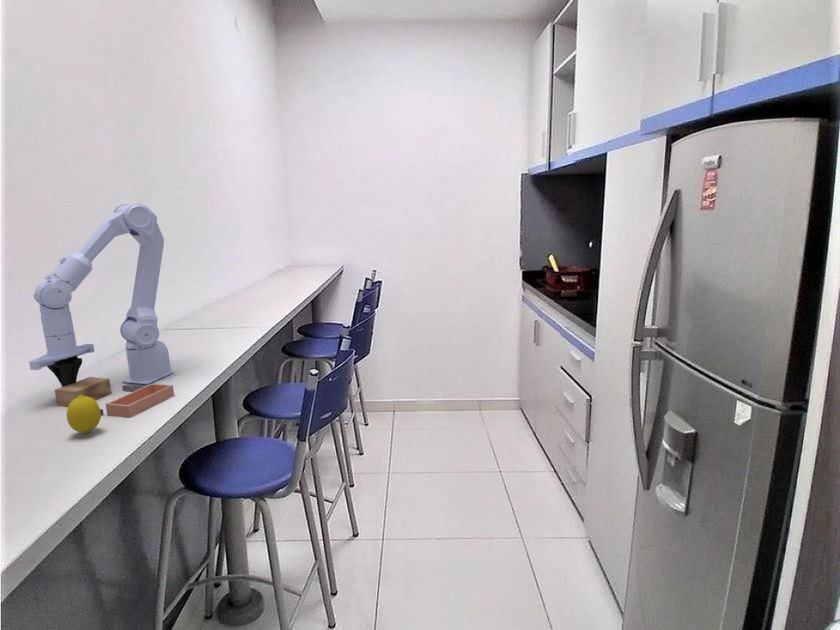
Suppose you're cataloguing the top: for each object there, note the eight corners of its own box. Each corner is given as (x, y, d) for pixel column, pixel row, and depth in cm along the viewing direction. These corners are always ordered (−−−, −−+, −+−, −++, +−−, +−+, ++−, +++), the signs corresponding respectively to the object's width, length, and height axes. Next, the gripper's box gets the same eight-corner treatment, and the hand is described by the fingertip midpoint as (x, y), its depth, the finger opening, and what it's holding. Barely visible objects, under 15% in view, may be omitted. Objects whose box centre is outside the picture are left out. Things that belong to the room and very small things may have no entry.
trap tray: (153, 393, 125) (151, 383, 124) (174, 395, 123) (172, 385, 122) (107, 415, 112) (105, 404, 112) (129, 417, 111) (128, 406, 110)
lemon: (97, 425, 107) (90, 388, 105) (108, 432, 104) (101, 394, 102) (66, 435, 103) (59, 396, 101) (76, 442, 99) (69, 402, 98)
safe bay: (127, 388, 128) (127, 383, 128) (154, 391, 126) (153, 386, 126) (68, 414, 113) (67, 408, 113) (97, 417, 111) (96, 412, 111)
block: (92, 392, 127) (89, 376, 126) (111, 394, 125) (109, 378, 125) (57, 406, 119) (54, 389, 118) (78, 409, 117) (75, 392, 116)
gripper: (74, 325, 128) (83, 378, 131) (14, 341, 114) (26, 399, 117) (97, 326, 126) (106, 380, 129) (38, 342, 112) (50, 402, 115)
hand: (69, 390), depth 123 cm, fingers closed
